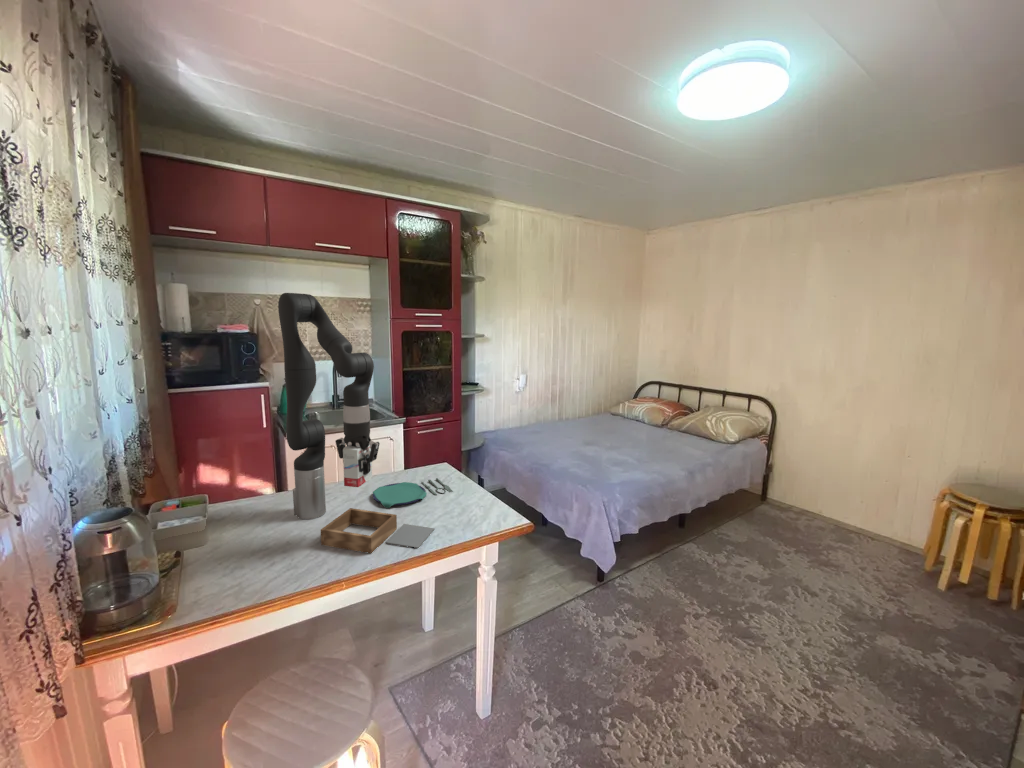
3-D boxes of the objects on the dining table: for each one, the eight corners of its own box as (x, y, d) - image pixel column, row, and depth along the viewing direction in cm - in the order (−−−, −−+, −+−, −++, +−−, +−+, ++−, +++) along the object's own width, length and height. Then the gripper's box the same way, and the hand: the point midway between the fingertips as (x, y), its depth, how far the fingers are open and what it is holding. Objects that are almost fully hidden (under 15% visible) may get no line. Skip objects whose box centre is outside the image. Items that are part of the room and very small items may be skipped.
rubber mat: (385, 543, 129) (385, 542, 129) (403, 525, 140) (403, 523, 140) (418, 549, 126) (418, 547, 126) (434, 529, 138) (434, 528, 138)
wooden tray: (321, 545, 127) (320, 529, 126) (350, 521, 141) (350, 508, 141) (371, 553, 123) (371, 537, 122) (396, 529, 138) (396, 514, 137)
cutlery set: (366, 493, 165) (366, 487, 164) (436, 479, 182) (436, 474, 181) (381, 513, 149) (381, 507, 148) (457, 496, 165) (457, 491, 165)
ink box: (357, 488, 125) (356, 450, 123) (343, 486, 126) (341, 448, 124) (373, 477, 133) (372, 441, 131) (359, 475, 134) (358, 440, 132)
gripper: (327, 420, 124) (330, 474, 127) (371, 424, 121) (372, 480, 124) (343, 414, 131) (345, 466, 134) (384, 418, 128) (385, 471, 131)
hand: (358, 472), depth 129 cm, fingers closed on ink box, 5 cm apart
